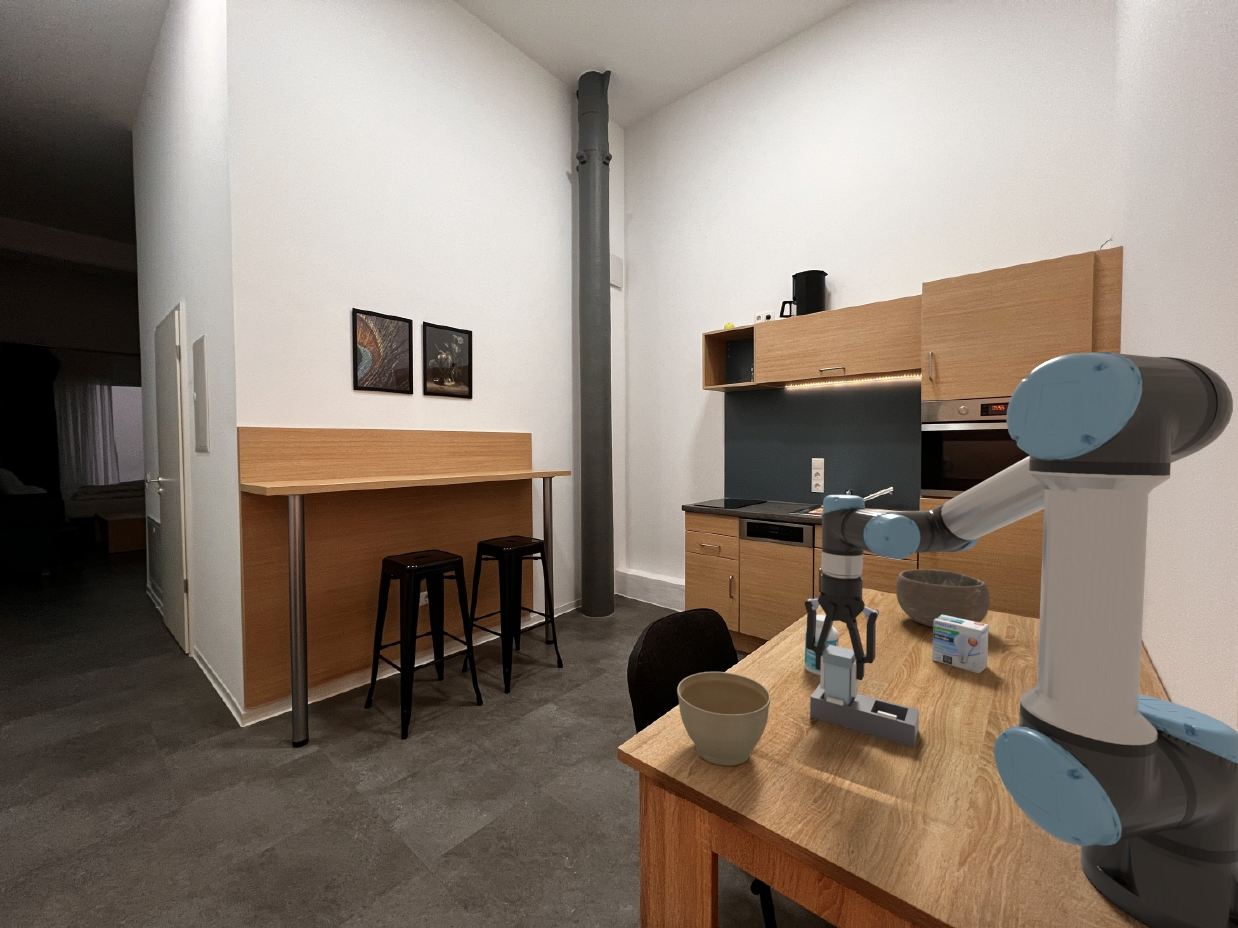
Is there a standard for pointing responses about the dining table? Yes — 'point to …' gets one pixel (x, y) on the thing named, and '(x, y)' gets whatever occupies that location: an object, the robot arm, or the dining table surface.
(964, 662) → the light bulb box
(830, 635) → the pill bottle
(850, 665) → the plug
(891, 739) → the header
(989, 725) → the dining table surface
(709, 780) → the dining table surface
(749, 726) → the planter bowl
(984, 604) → the bowl
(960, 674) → the dining table surface
